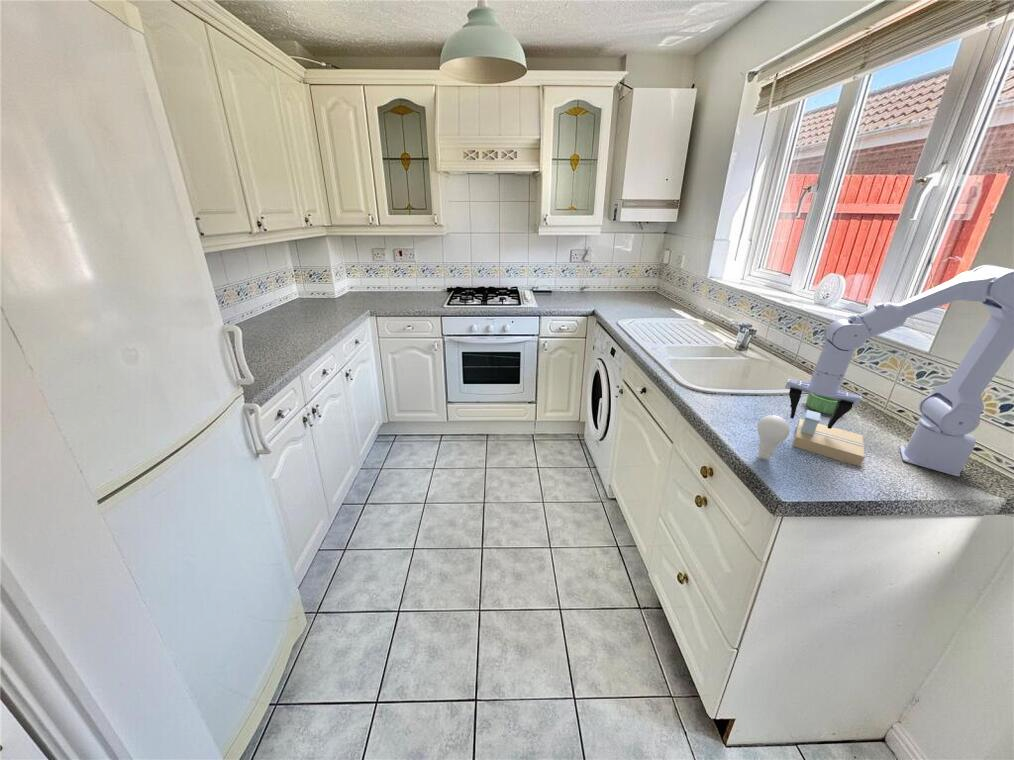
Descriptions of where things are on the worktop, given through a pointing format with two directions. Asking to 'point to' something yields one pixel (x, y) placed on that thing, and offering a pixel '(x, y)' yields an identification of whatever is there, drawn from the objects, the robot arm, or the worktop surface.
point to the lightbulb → (771, 434)
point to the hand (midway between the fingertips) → (810, 421)
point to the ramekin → (821, 403)
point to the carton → (831, 443)
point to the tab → (810, 422)
